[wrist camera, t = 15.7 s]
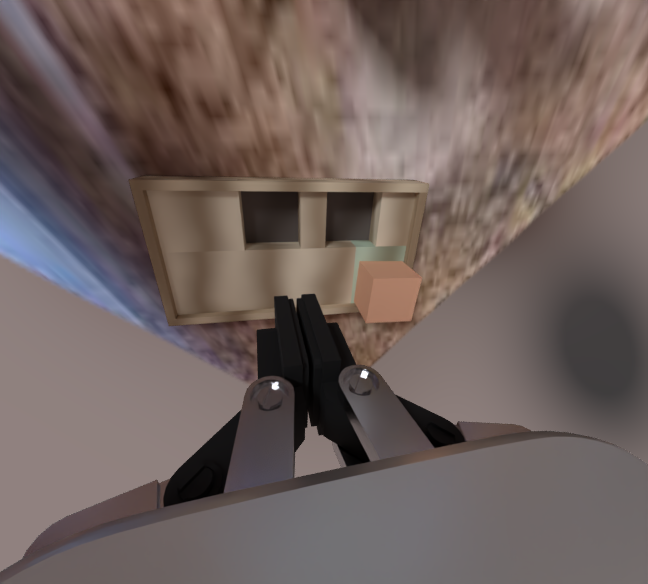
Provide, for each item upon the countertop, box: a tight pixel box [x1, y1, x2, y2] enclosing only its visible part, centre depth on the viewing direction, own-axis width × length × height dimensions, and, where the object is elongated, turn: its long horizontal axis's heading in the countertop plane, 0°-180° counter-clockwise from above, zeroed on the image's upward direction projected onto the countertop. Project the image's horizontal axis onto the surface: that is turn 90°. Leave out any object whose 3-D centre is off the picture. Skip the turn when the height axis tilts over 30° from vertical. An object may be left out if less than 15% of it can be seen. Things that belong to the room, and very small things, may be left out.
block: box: [354, 261, 422, 323], centre depth 29 cm, size 5×5×4 cm
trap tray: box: [129, 176, 429, 326], centre depth 29 cm, size 26×14×3 cm, turn 88°
